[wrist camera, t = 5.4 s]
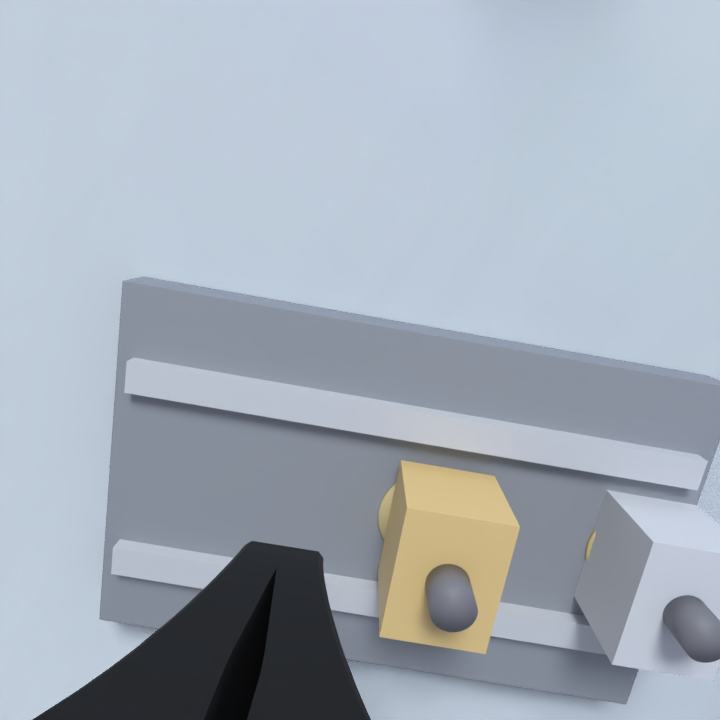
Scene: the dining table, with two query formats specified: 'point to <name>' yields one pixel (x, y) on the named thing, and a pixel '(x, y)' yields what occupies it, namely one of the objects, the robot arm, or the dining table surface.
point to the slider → (444, 557)
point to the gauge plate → (420, 445)
